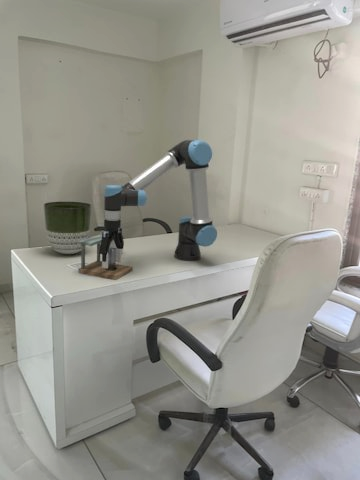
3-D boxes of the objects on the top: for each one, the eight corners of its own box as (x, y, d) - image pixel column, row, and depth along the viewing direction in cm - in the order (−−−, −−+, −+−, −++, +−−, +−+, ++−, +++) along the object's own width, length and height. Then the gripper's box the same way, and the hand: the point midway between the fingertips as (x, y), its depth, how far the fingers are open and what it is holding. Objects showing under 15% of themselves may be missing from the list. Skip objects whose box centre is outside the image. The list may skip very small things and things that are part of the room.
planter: (99, 254, 205) (100, 206, 198) (59, 261, 187) (58, 209, 181) (76, 245, 221) (75, 200, 214) (36, 251, 203) (35, 202, 197)
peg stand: (132, 270, 180) (133, 240, 177) (115, 280, 166) (116, 247, 162) (97, 264, 187) (97, 235, 184) (78, 272, 172) (78, 241, 169)
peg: (110, 271, 178) (110, 247, 175) (116, 272, 176) (117, 248, 174) (106, 273, 174) (106, 248, 172) (112, 274, 173) (113, 249, 170)
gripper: (118, 214, 181) (117, 257, 186) (90, 221, 160) (90, 269, 165) (131, 216, 179) (130, 259, 184) (105, 224, 158) (105, 272, 163)
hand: (111, 264), depth 174 cm, fingers open, 11 cm apart
